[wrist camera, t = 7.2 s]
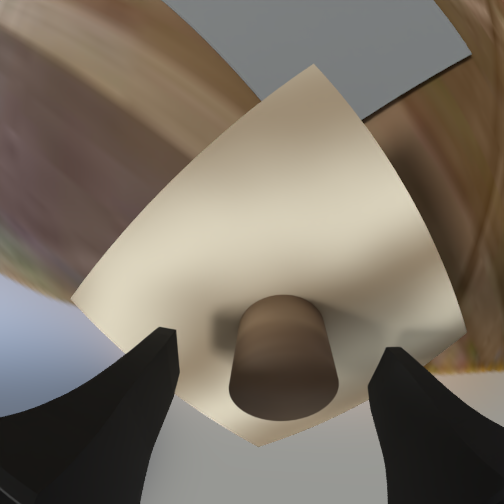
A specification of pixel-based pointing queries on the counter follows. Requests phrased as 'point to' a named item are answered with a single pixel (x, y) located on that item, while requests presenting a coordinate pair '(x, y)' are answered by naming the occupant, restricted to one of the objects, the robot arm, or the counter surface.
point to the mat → (329, 43)
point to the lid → (279, 268)
